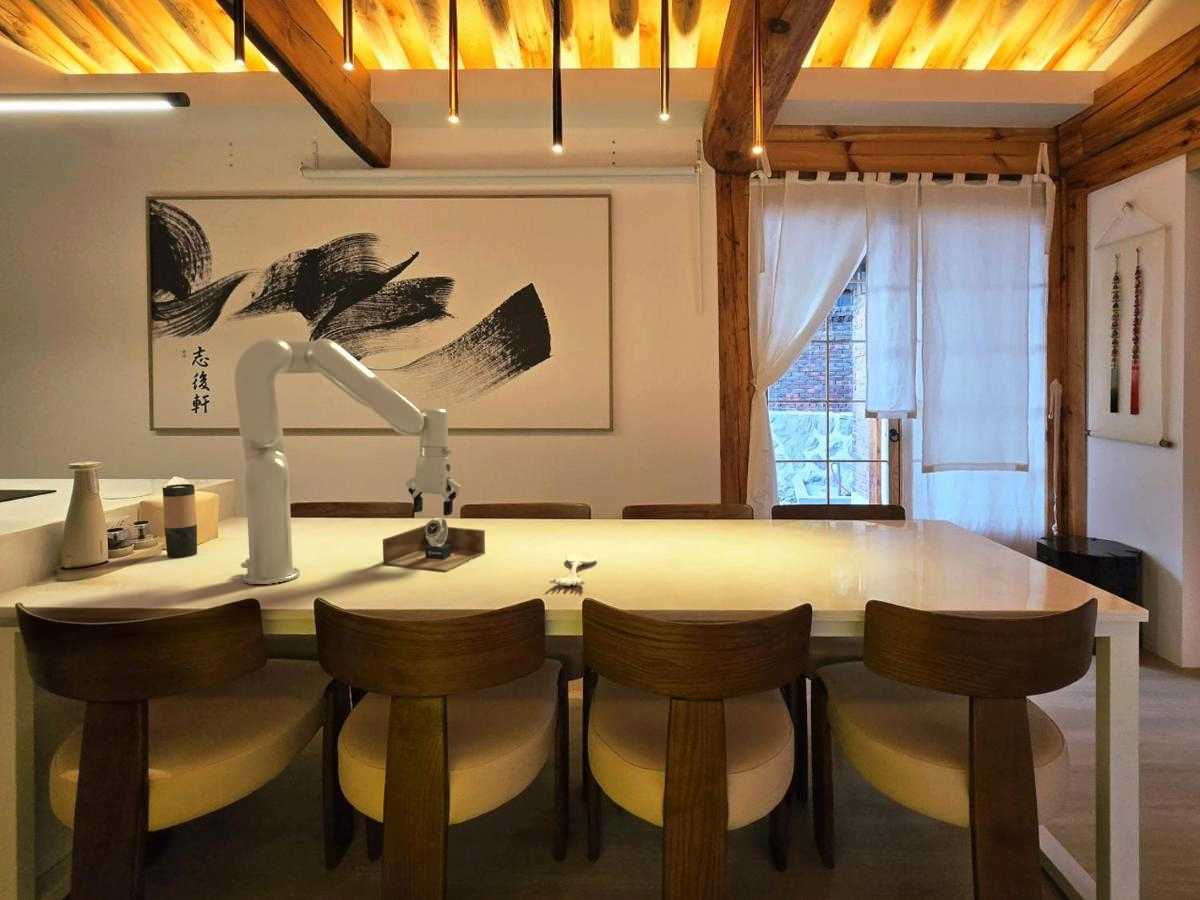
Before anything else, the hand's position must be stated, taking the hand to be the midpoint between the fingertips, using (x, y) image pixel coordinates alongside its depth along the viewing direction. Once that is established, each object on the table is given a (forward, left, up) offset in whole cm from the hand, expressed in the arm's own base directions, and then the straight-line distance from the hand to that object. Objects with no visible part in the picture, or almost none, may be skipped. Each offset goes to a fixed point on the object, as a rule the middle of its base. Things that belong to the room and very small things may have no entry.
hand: (432, 513), depth 174 cm
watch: (+2, 0, -13) cm, 13 cm away
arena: (0, 0, -13) cm, 13 cm away
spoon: (+43, +2, -14) cm, 45 cm away
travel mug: (-70, -22, -13) cm, 74 cm away
